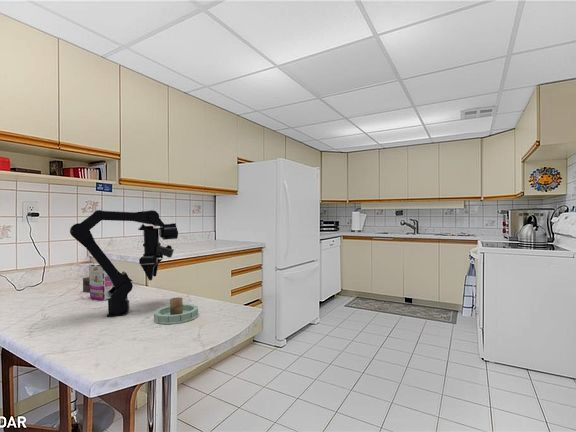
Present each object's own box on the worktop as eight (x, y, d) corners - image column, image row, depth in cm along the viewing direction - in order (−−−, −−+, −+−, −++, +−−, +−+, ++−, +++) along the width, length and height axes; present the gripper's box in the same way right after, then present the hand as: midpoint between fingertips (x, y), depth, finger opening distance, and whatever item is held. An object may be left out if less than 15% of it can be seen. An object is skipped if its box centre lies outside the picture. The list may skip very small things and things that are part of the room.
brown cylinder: (169, 317, 114) (169, 301, 114) (171, 314, 118) (170, 298, 118) (182, 316, 115) (181, 299, 115) (183, 312, 119) (182, 297, 119)
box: (82, 292, 166) (82, 278, 166) (92, 289, 171) (92, 276, 171) (91, 292, 164) (91, 278, 164) (101, 290, 170) (101, 276, 170)
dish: (151, 326, 108) (150, 318, 108) (158, 313, 122) (158, 306, 122) (197, 321, 111) (196, 313, 111) (198, 309, 126) (198, 302, 126)
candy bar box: (114, 298, 149) (113, 263, 149) (104, 301, 145) (102, 265, 145) (99, 296, 155) (98, 262, 155) (89, 299, 150) (88, 264, 150)
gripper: (169, 241, 125) (170, 281, 125) (174, 238, 143) (175, 273, 143) (138, 242, 122) (139, 283, 122) (147, 239, 140) (149, 275, 140)
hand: (152, 278), depth 132 cm, fingers open, 9 cm apart
